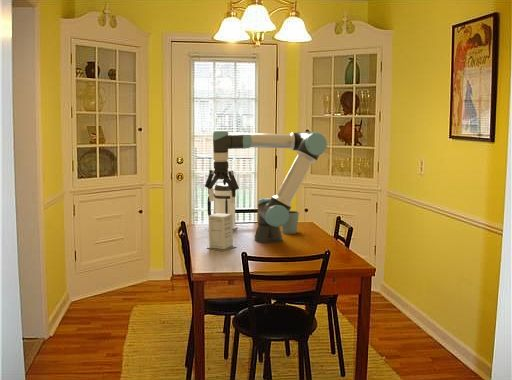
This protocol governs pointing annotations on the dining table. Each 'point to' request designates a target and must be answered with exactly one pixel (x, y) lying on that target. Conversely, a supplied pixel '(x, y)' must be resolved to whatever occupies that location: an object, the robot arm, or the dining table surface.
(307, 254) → the dining table surface
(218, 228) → the supplement box
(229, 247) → the trivet
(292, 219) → the drinking glass
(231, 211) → the coffee press
